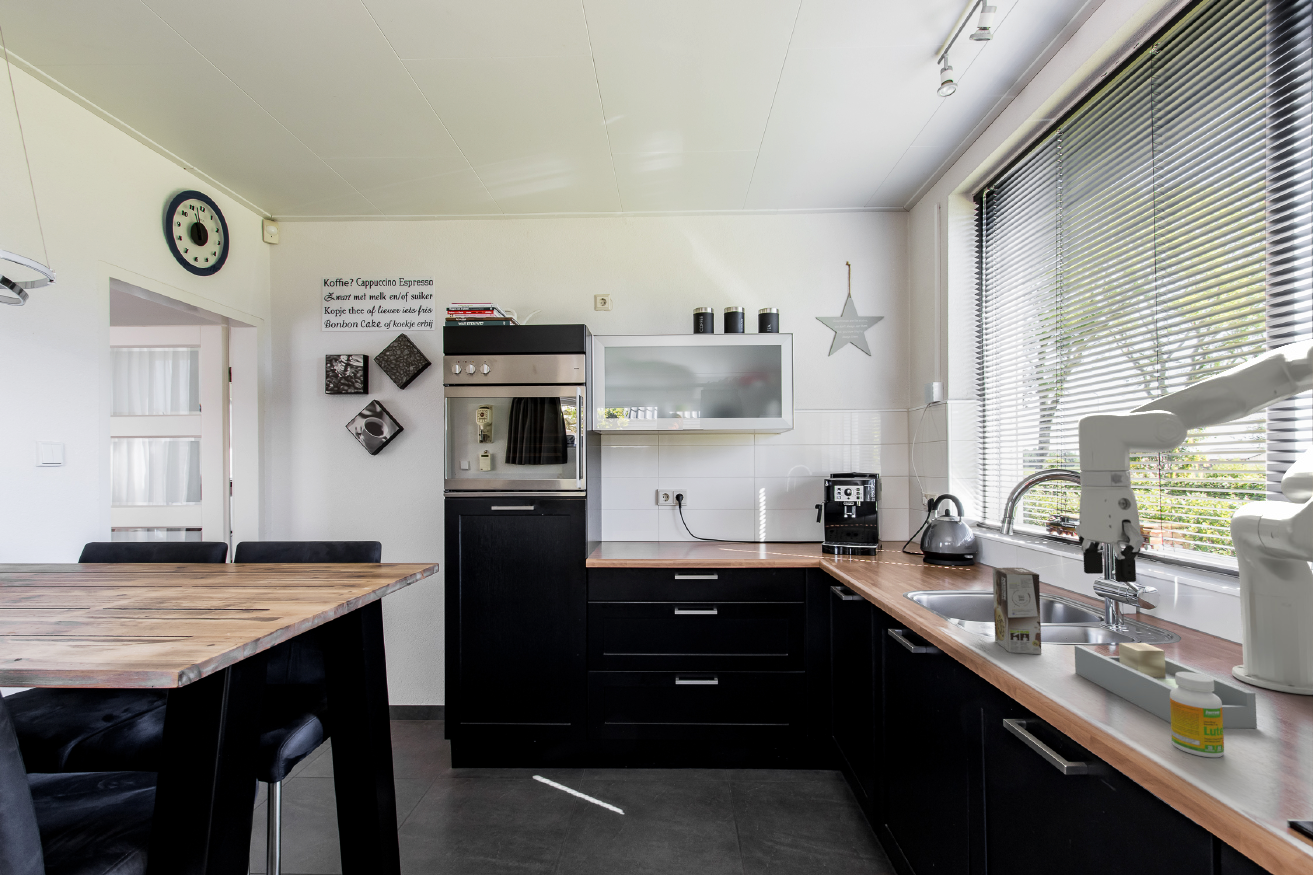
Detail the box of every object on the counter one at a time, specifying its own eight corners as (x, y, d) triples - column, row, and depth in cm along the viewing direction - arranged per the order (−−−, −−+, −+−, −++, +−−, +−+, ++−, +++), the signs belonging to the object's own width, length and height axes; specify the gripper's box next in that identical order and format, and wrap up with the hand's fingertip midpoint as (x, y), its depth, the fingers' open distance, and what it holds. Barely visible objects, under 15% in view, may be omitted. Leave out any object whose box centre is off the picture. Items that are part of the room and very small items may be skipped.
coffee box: (1043, 654, 126) (1040, 574, 127) (1008, 653, 128) (1005, 573, 128) (1026, 642, 135) (1023, 566, 136) (993, 640, 137) (991, 566, 137)
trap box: (1136, 672, 115) (1135, 645, 115) (1257, 727, 91) (1255, 693, 91) (1075, 672, 116) (1074, 645, 116) (1179, 727, 92) (1177, 692, 92)
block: (1145, 668, 108) (1144, 643, 109) (1165, 677, 104) (1164, 650, 104) (1119, 668, 109) (1118, 642, 109) (1138, 677, 104) (1137, 650, 104)
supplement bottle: (1210, 761, 81) (1207, 685, 82) (1162, 744, 86) (1160, 672, 86) (1233, 753, 83) (1229, 679, 84) (1185, 737, 88) (1182, 667, 89)
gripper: (1162, 482, 106) (1167, 586, 105) (1094, 479, 124) (1098, 569, 123) (1117, 482, 106) (1121, 586, 106) (1055, 479, 124) (1059, 569, 123)
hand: (1109, 576), depth 114 cm, fingers open, 7 cm apart
